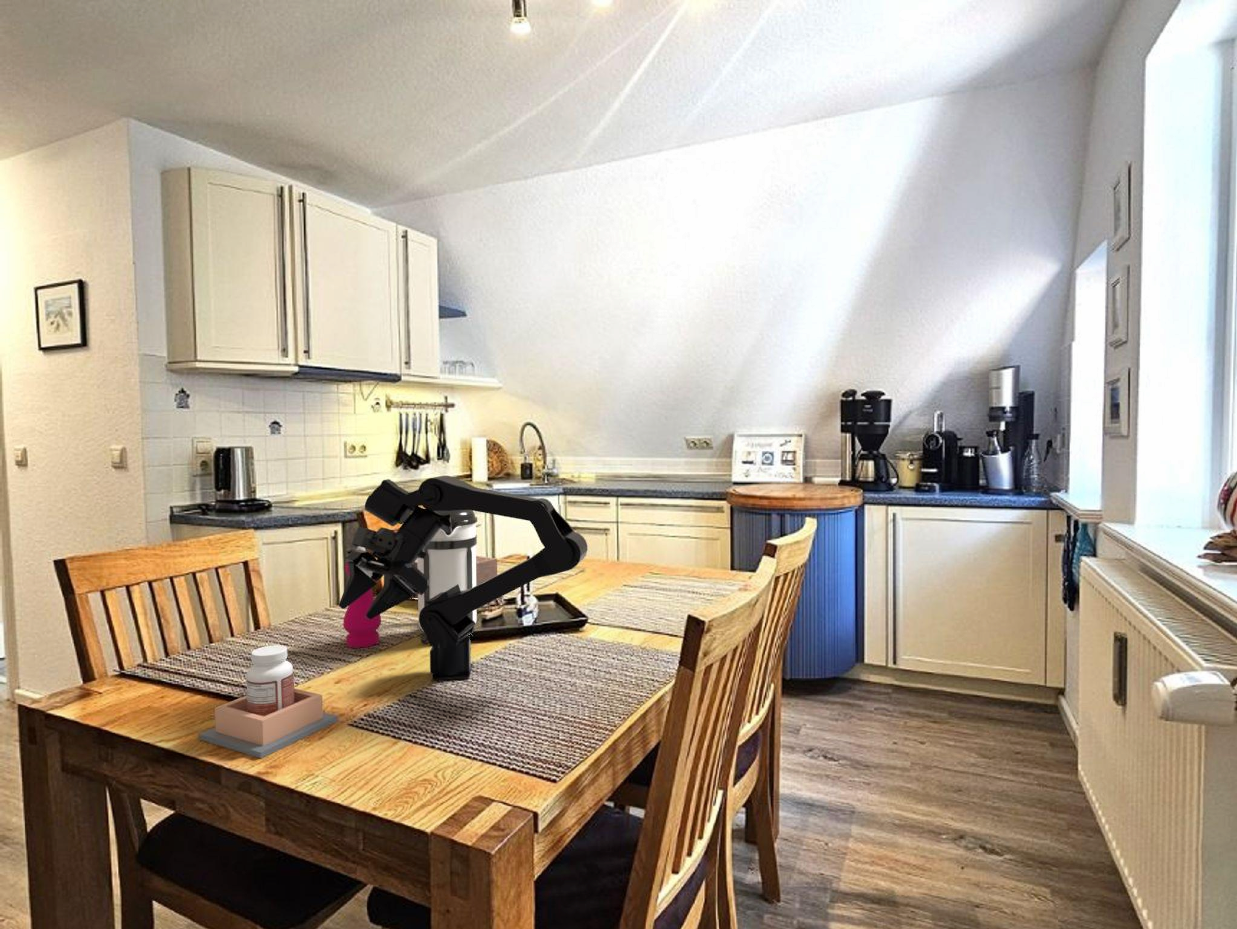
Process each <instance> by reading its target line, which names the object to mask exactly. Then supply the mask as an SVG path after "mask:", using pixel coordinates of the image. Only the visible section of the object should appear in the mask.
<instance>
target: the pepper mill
mask: <svg viewBox="0 0 1237 929" xmlns="http://www.w3.org/2000/svg"><path fill="white" fill-rule="evenodd" d="M355 550H363V551H367V550H366V548H363V547H360V546H357V548H355ZM347 562H348V561H346V562H345V566H344V567H345V568H344V569H345V572H346V574H347V576H349V577H350V572H349V567H348V566H347ZM348 580H349V578H348ZM348 580H347V581H348ZM374 600H375V598H374V594H373V588H371V589H370V590H369V591H367V592H366V593H365V594H363V595H362V596H361V597H359V598H358V599H357V600H356V601H354V602H353V603H352V604H350V605H349V606H347V608H346V609H347V610H346V611H345V614H344V617H343V623H342V624H343V628H344V630H345V631H346V632H347V633H348V634H347V635H346V637H345V639H346V640H345V641H346V646H347V647H350V648H353V647H358V648H357V649H360V648H359V647H363V648H367V647H368V646H369V647H372V646H375V645H377V644H379V641H380V633H379V632H378V631H377V630H378V629H379V627H380V626H381V624H382V618H381V614H379V615H378V616H376V617H374V618H372V619H368V618H367V617H366V616H365V615H366V613H367V611H368V609H369V608H370V606H371V604H372V603H373V601H374ZM374 644H375V645H374Z"/></svg>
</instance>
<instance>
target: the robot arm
mask: <svg viewBox="0 0 1237 929" xmlns="http://www.w3.org/2000/svg"><path fill="white" fill-rule="evenodd" d="M364 510H365V512H368V513H369V514H371V515H372V516H375V517H376V518H377V519H379V520H381V521H382V522H384V523H386V524H387V525H389V526H391V527H395V526H397V525H401V526H399V528H398V529H397V530H396V531H394V530H392V529H389V528H386V527H382V526H381V527H380V528H378V529H377V530H374V529H369V528H366V527H361V526H357V528H356V531H355V533H354V536H353V539H352V541H351V543H350V545H352V546H354V547H359V546H360V547H363V548H365V550H366V549H367V550H369V551H370V552H369V551H367V550H366V551H363V550H356V549H353V550H351V551H350V553H348V555H347V556H346V557H345V561H346V562H347V561H348V562H347V566H348V567H349V572H350V576H349V577H348V579H349V580H347V583H346V585H345V588H344V591H343V593H342V595H341V597H340V600H339V602H338V606H339V608H341V609H342V610H344V609H347V608H348V606H349V605H350V604H352V603H353V602H354V601H356V600H357V599H358V598H359V597H361V596H362V595H363V594H365V593H366V592H367V591H369V590H370V589H371V588H372V589H373V588H374V587H375V586H376V585H378V583H377V581H379V580H380V579H381V580H382V578H383V586H382V587H381V589H380V591H379V592H378V593H377V595H376V596H375V598H374V601H373V603H372V604H371V606H370V608H369V609H368V611H367V613H366V615H365V616H366V617H367V618H368V619H372V618H374V617H376V616H378V615H379V614H380V615H381V614H383V613H385V612H386V611H388V610H390V609H392V608H393V607H396V606H398V605H400V604H401V603H403V602H406V601H407V600H411V599H410V598H412V597H413V598H414V597H415V596H416V594H419V595H423V593H424V592H425V590H426V589H427V588H428V586H429V579H428V578H427V577H426V576H425V575H424V574H423V573H422V572H421V571H420V570H419V569H418V568H416V567H415V566H414V565H413V563H414V562H415V561H416V560H417V558H421V559H423V558H424V557H425V556H426V553H425V552H424V551H423V550H424V549H425V548H426V546H427V545H428V544H429V543H430V541H431V540H432V539H433V537H434V536H435V535H436V533H437V532H438V531H439V530H440V529H442V530H444V531H445V532H447V533H449V534H451V533H452V527H451V516H450V515H449V514H448V515H441V514H439V513H437V512H436V511H454V510H472V511H473V512H479V513H482V514H484V513H485V514H490V515H495V516H500V517H505V518H511V519H512V518H513V519H518V520H521V521H527V522H528V521H529V523H530V524H531V525H532V527H533V528H534V530H535V531H536V534H537V537H538V538H539V541H540V543H541V544H542V546H543V548H542V549H540V550H539V551H538V552H537V553H536V554H534V555H532V557H529V558H528V559H526V560H524V561H522V562H519V563H518V564H516V565H514V566H512V567H510V568H509V569H507V570H505V571H502V572H501V573H499V574H498V573H497V575H496V576H494V577H492V578H490V579H489V580H487V581H485V582H483V583H481V584H479V585H477V586H475V587H473V588H471V589H468V590H463V591H460V588H459V585H458V584H457V585H456V586H454V587H452V588H451V589H449V590H447V591H446V592H441V593H439V594H438V595H436V596H434V597H433V598H431V599H429V600H428V601H426V603H427V604H428V605H427V606H425V607H424V608H422V610H421V611H420V615H419V619H418V624H419V623H420V626H421V628H422V629H423V631H422V632H424V631H425V633H426V636H427V639H428V641H429V643H428V644H429V646H430V647H431V648H430V650H429V671H430V672H429V673H430V674H432V675H431V680H433V681H440V680H460V679H469V678H470V677H471V673H472V668H473V663H472V661H471V657H472V656H471V653H472V652H471V651H472V650H471V649H472V648H471V647H472V646H471V640H470V636H468V635H470V634H471V635H472V633H473V630H474V628H475V627H476V623H477V622H476V623H475V622H474V621H473V620H472V619H471V618H470V617H469V615H468V614H470V613H471V612H472V611H474V610H476V611H477V610H478V609H480V608H482V607H483V606H485V605H488V604H489V603H491V602H493V601H496V600H497V599H499V598H501V597H503V596H506V595H507V594H509V593H511V592H513V591H515V590H518V589H519V588H521V587H524V586H525V585H527V584H529V583H531V582H533V581H535V580H537V579H540V578H544V577H549V576H555V575H558V574H561V573H565V572H568V571H570V570H573V569H574V568H575V567H577V566H578V565H579V564H580V563H581V562H582V561H583V560H584V559H585V557H586V556H587V552H588V543H587V540H586V539H585V537H584V535H583V534H582V535H581V534H580V533H578V532H576V531H575V530H574V529H573V528H572V526H571V525H570V523H569V522H568V521H567V520H566V519H565V518H564V517H563V516H562V515H561V514H560V513H559V512H558V511H557V510H556V508H555V507H554V505H553V504H552V502H551V501H550V500H549V499H547V498H544V497H542V498H536V497H529V496H525V495H520V494H514V493H513V494H512V493H507V492H502V491H496V490H491V489H485V488H480V487H477V486H473V485H472V484H470V483H468V482H466V481H465V480H461V479H459V478H455V477H453V476H450V475H440V476H439V475H438V476H435V477H430V478H426V479H425V480H423V481H422V482H421V484H420V485H419V487H418V489H415V490H414V491H411V492H409V491H408V490H406V489H405V488H402V487H401V486H400V485H397V484H396V482H395V481H393V480H392V479H389V478H388V479H383V480H381V483H380V485H378V486H377V487H376V488H375V489H374V490H373V491H372V493H371V494H369V495H368V496H367V499H366V500H365V504H364ZM414 593H416V594H414Z"/></svg>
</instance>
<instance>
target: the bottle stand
mask: <svg viewBox="0 0 1237 929" xmlns="http://www.w3.org/2000/svg"><path fill="white" fill-rule="evenodd" d="M294 703H295V704H292V705H290V706H288V707H285V708H283V709H281V710H278V711H276V712H274V713H271V714H269V715H267V716H260V715H256V714H252V713H249V712H248V709H247V695H244V696H242V697H240V698H237V699H234V700H232V701H229V702H225V703H224V704H221V705H218V706H216V707H214V720H215V723H214V724H215V726H214V727H213V728H210V729H207V730H204V731H201V732H200V733H198V740H200V741H203V742H206V743H209V744H212V745H216V746H220V747H222V748H225V749H230V750H233V751H236V752H239V753H243V754H246V755H249V756H252V757H255V758H259V759H263V758H265V757H268V756H269V755H272V754H273V753H275V752H277V751H279V750H282V749H284V748H285V747H288V746H289V745H292V744H293V743H296V742H298V741H300V740H302V739H305V738H306V737H308V736H310V735H312V734H314V733H316V732H318V731H320V730H323V729H325V728H327V727H329V726H331V725H333V724H336V723H337V722H339V715H336V714H332V713H328V712H324V711H323V695H322V694H320V693H317V692H316V693H315V692H311V691H307V690H302V689H298V688H295V687H294Z"/></svg>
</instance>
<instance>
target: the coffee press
mask: <svg viewBox="0 0 1237 929" xmlns="http://www.w3.org/2000/svg"><path fill="white" fill-rule="evenodd" d="M436 512H437V513H439V514H441V515H448V514H449V515H450V516H451V527H452V533H451V534H449V533H447V532H445V531H444V530H442V529H440V530H439V531H438V532H437V533H436V535H435V536H434V537H433V539H432V540H431V541H430V543H429V544H428V545H427V546H426V548H425V549H424V550H423V551H424V552H425V553H426V556H425V557H424V558H423V559H421V558H417V568H418V569H419V570H420V571H421V572H422V573H423V574H424V575H425V576H426V577H427V578H428V579H429V586H428V588H427V589H426V590H425V592H424V593H423V595H419V594H418V601H417V605H418V606H417V608H418V609H417V612H418V613H417V614H418V615H417V616H418V617H417V618H418V620H419V615H420V611H421V610H422V608H424V607H425V606H427V605H428V604H427V603H426V601H428V600H429V599H431V598H433V597H434V596H436V595H438V594H439V593H441V592H446V591H447V590H449V589H451V588H452V587H454V586H456V585H457V584H458V585H459V588H460V591H463V590H468V589H471V588H473V587H475V586H476V556H477V544H478V536H477V532H476V531H477V530H476V528H477V527H476V526H477V522H478V517H477V516H476V515H475V511H472V510H454V511H436ZM468 615H469V617H470V618H471V619H472V620H473V621H474V622H475V623H477V609H476V610H474V611H472V612H471V613H470V614H468ZM418 627H419V629H420V631H421V630H422V634H421V636H420V643H421V644H427V645H428V644H429V641H428V639H427V636H426V633H425V631H423V629H422V628H421V626H420V623H419V622H418ZM474 630H476V628H475V627H474ZM474 630H473V631H474Z"/></svg>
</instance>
